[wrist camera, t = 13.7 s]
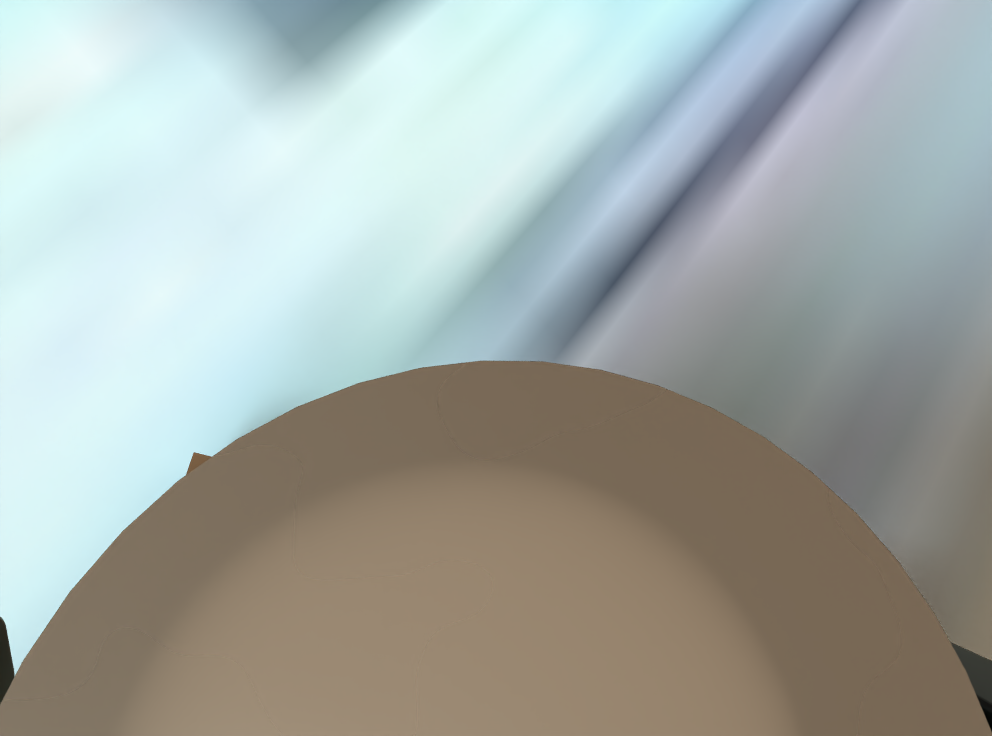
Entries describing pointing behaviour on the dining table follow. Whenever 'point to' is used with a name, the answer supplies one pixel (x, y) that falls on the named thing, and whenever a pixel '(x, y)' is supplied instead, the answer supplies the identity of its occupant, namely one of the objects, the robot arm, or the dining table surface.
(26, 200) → the dining table surface
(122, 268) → the dining table surface
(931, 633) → the teal tin
